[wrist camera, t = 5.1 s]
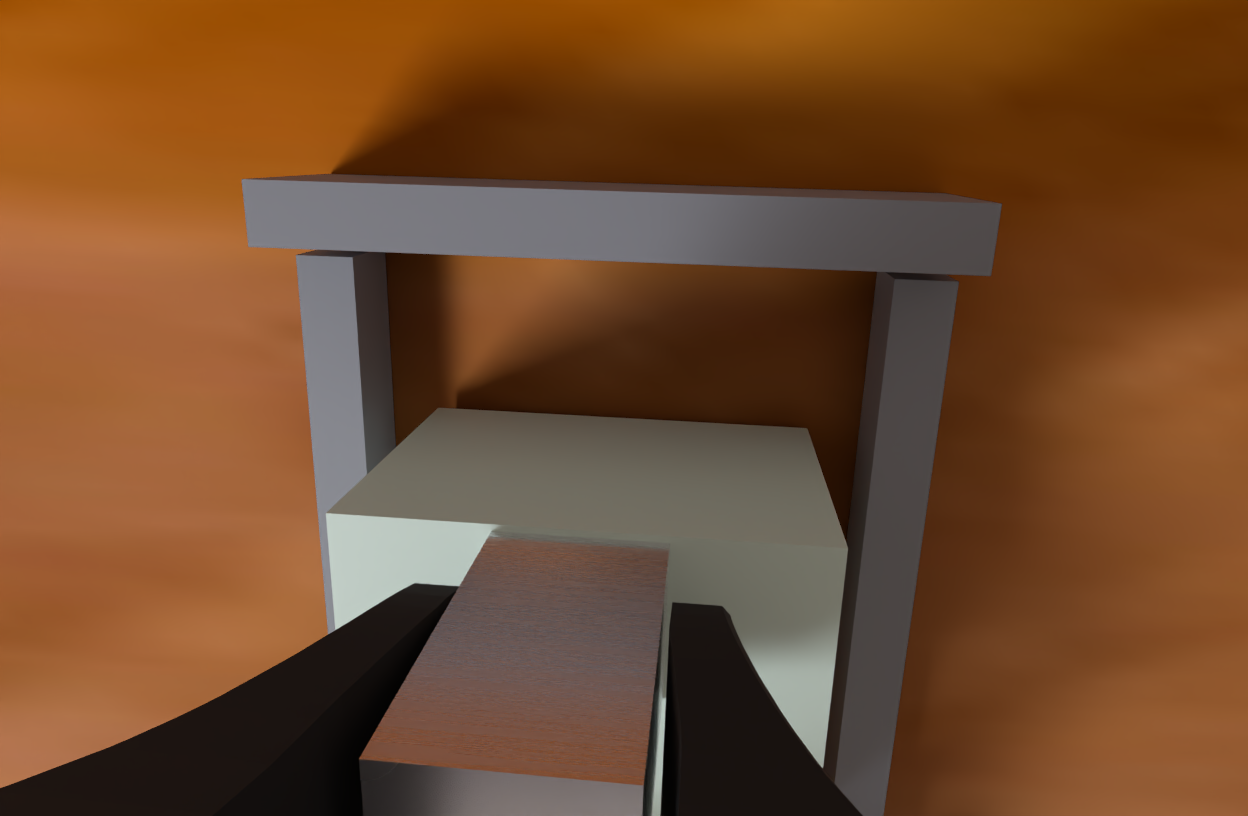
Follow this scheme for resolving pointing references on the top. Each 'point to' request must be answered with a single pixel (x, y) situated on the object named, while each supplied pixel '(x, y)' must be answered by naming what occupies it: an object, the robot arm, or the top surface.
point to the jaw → (580, 598)
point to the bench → (678, 234)
